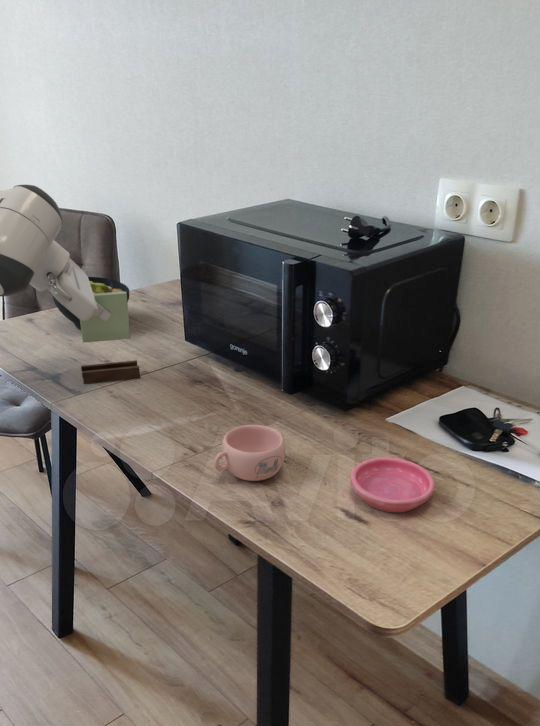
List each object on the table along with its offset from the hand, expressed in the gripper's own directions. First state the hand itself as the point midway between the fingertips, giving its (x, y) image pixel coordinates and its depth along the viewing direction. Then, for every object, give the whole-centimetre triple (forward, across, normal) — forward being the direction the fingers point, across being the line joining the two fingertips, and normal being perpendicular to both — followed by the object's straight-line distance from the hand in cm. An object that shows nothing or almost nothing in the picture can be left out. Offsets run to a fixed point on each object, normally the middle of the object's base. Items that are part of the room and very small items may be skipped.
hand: (107, 315), depth 133 cm
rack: (+9, 0, +9) cm, 13 cm away
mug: (+20, -42, -2) cm, 47 cm away
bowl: (+9, +30, +10) cm, 32 cm away
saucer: (+33, -54, -16) cm, 65 cm away
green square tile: (+3, 0, +4) cm, 5 cm away
